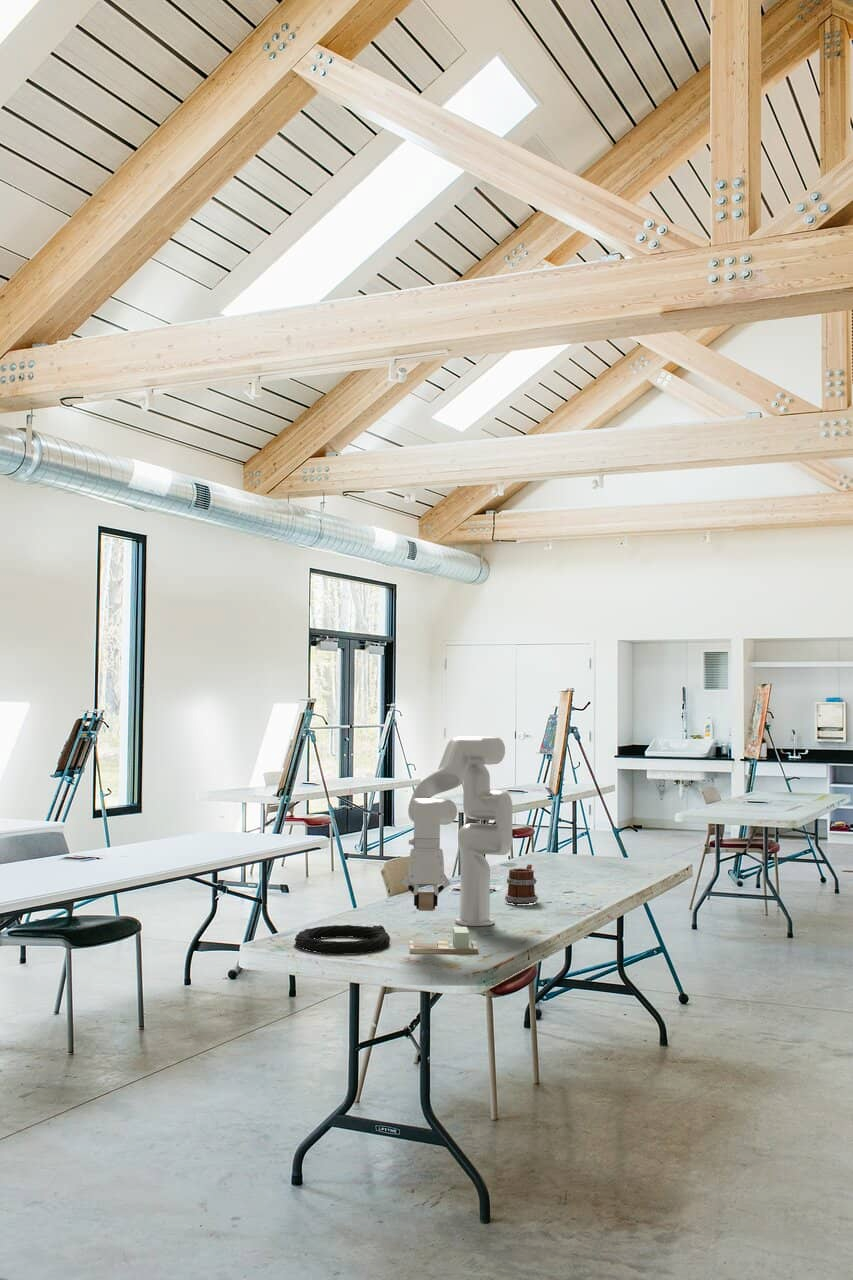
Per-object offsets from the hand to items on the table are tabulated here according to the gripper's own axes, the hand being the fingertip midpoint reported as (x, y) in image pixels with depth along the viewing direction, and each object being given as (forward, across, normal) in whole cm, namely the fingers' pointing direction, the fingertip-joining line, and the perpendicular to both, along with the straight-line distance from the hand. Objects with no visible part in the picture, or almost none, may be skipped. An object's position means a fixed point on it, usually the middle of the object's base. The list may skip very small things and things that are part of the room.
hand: (425, 908), depth 316 cm
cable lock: (+12, -23, +5) cm, 26 cm away
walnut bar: (0, 0, -1) cm, 1 cm away
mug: (+11, +37, +79) cm, 88 cm away
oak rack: (+11, +5, 0) cm, 12 cm away
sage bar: (+11, +10, 0) cm, 15 cm away
